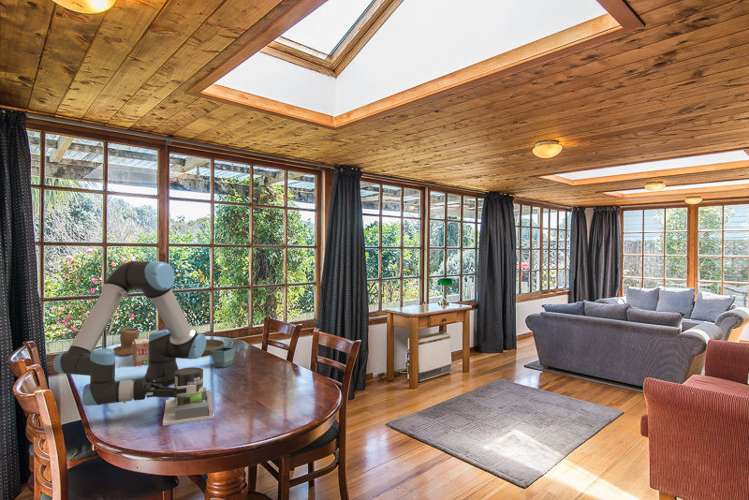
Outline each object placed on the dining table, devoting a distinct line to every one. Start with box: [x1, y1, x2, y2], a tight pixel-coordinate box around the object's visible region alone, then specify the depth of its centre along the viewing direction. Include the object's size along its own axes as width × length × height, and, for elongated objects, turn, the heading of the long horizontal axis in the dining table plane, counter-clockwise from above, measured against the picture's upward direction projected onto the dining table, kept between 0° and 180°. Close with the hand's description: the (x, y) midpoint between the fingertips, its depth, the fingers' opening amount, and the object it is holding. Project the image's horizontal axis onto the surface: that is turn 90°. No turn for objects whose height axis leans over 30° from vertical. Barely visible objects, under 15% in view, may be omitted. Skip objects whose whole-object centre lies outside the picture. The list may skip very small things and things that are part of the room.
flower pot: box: [211, 346, 236, 368], centre depth 228 cm, size 9×9×9 cm
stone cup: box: [112, 327, 140, 356], centre depth 253 cm, size 15×12×15 cm
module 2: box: [203, 387, 207, 400], centre depth 175 cm, size 11×5×4 cm, turn 113°
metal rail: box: [206, 389, 214, 416], centre depth 170 cm, size 2×24×2 cm, turn 23°
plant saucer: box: [200, 338, 226, 357], centre depth 259 cm, size 31×31×5 cm
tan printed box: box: [131, 338, 149, 367], centre depth 237 cm, size 21×6×12 cm, turn 34°
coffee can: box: [174, 366, 204, 409], centre depth 167 cm, size 10×10×14 cm
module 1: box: [175, 402, 208, 420], centre depth 159 cm, size 11×5×4 cm, turn 113°
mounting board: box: [162, 396, 215, 427], centre depth 167 cm, size 17×25×1 cm
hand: (196, 383), depth 168 cm, fingers open, 13 cm apart
